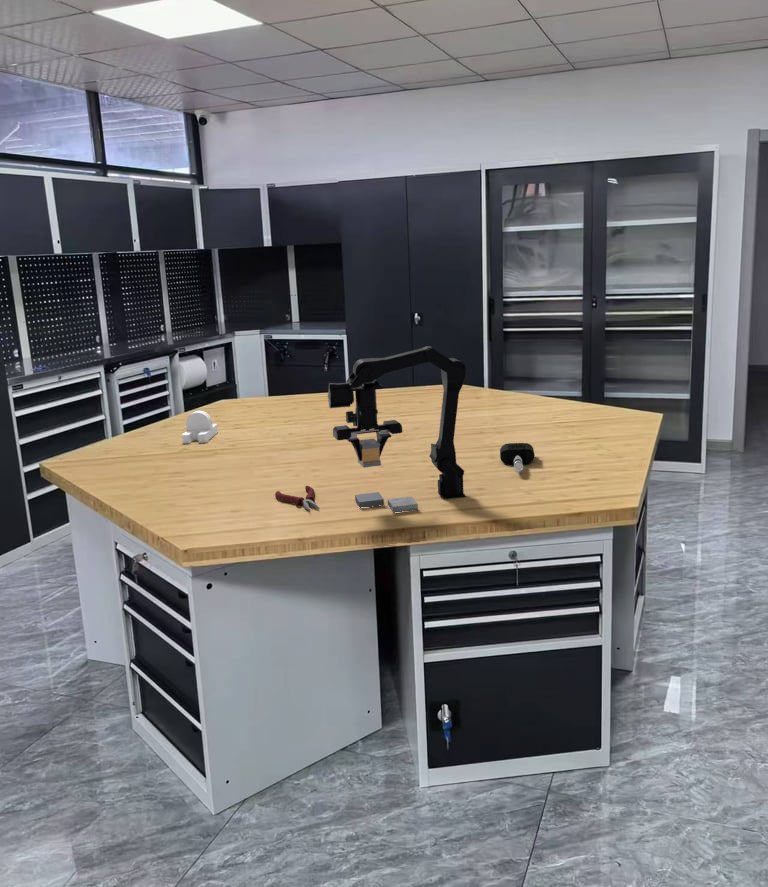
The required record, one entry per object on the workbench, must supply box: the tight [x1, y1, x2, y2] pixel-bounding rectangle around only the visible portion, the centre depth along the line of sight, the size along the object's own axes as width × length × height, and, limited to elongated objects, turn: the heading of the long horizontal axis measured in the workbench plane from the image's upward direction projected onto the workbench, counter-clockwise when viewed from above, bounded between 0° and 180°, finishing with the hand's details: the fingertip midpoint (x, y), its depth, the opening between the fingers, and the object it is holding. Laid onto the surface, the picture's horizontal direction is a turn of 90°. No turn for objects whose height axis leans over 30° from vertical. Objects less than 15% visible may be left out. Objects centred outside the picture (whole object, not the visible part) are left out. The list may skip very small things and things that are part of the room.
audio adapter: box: [499, 442, 535, 474], centre depth 263 cm, size 11×5×25 cm
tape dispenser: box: [181, 410, 219, 444], centre depth 327 cm, size 10×18×11 cm, turn 176°
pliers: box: [274, 485, 321, 512], centre depth 240 cm, size 12×20×3 cm, turn 25°
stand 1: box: [354, 491, 385, 509], centre depth 235 cm, size 7×7×2 cm
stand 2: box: [387, 496, 419, 514], centre depth 230 cm, size 7×7×2 cm
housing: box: [357, 438, 382, 468], centre depth 231 cm, size 6×5×6 cm
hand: (369, 459), depth 232 cm, fingers closed on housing, 5 cm apart
